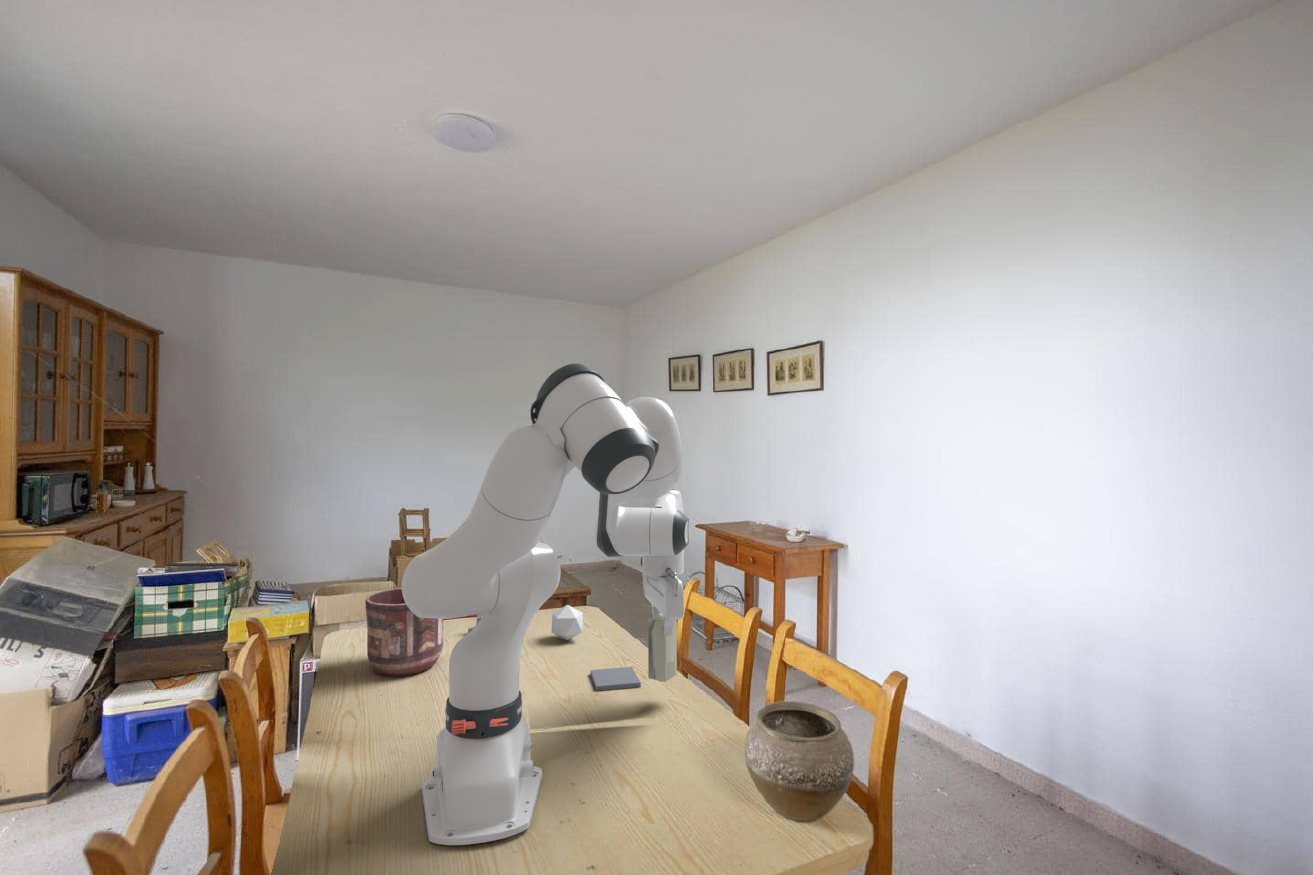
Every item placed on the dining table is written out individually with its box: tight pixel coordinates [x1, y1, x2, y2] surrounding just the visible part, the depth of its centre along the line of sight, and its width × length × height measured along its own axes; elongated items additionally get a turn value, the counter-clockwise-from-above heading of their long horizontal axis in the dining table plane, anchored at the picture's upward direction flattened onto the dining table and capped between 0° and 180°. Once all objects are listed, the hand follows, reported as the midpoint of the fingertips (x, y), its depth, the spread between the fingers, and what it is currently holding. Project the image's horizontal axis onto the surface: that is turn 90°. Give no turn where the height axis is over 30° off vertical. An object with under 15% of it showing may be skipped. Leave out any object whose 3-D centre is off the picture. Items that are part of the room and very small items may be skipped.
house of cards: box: [467, 613, 483, 634], centre depth 171 cm, size 9×9×8 cm
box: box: [647, 613, 678, 683], centre depth 129 cm, size 5×4×13 cm
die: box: [551, 604, 584, 641], centre depth 169 cm, size 8×9×10 cm
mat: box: [590, 666, 641, 692], centre depth 141 cm, size 10×10×1 cm
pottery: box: [365, 587, 445, 678], centre depth 147 cm, size 18×18×18 cm
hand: (662, 629), depth 129 cm, fingers closed on box, 6 cm apart
